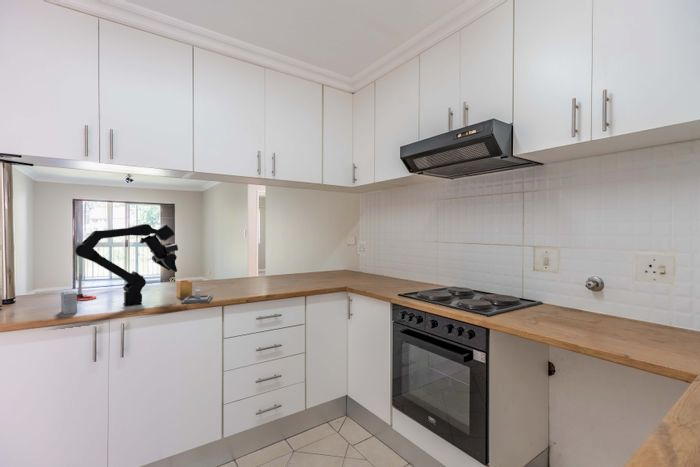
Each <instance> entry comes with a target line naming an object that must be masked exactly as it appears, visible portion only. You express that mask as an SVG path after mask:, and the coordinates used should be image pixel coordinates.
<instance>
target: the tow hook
mask: <svg viewBox="0 0 700 467" xmlns="http://www.w3.org/2000/svg"><path fill="white" fill-rule="evenodd" d="M82 281H83V280H82V274H81V273H79V276H78V289H77V302H85V301H93V300H97V296H95V295H87V294H83V291H82V290H83V289H82V284H83V283H82Z"/></svg>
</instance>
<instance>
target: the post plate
mask: <svg viewBox="0 0 700 467" xmlns="http://www.w3.org/2000/svg"><path fill="white" fill-rule="evenodd" d="M212 299H213V295H211V294H202V295H201V289H194V295H192V296H188V297H187V298H183V300H182V301H181V302H180V305H181V304H183V305H184V304H185V305H187V304H188V305H189V304H205V303H206V304H208V303H209V302H210V301H211V300H212Z"/></svg>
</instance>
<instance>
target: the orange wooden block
mask: <svg viewBox="0 0 700 467" xmlns="http://www.w3.org/2000/svg"><path fill="white" fill-rule="evenodd" d="M188 296H193V281H192V280H191V279H190V280H189V279H186V280H185V279H184V280H176V298H178V299H186V298H187V297H188Z"/></svg>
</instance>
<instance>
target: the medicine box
mask: <svg viewBox="0 0 700 467" xmlns="http://www.w3.org/2000/svg"><path fill="white" fill-rule="evenodd" d="M60 294H61V295H60V299H61V300H60V301H61V302H60V303H61V304H60V306H61V309H60V310H61V312H62V313H63V314H64V315H71V314H77V313H78V301H77V294H78V292H76V291H75V290H70V291H69V290H68V291H62V292H61V293H60ZM70 313H71V314H70Z"/></svg>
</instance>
